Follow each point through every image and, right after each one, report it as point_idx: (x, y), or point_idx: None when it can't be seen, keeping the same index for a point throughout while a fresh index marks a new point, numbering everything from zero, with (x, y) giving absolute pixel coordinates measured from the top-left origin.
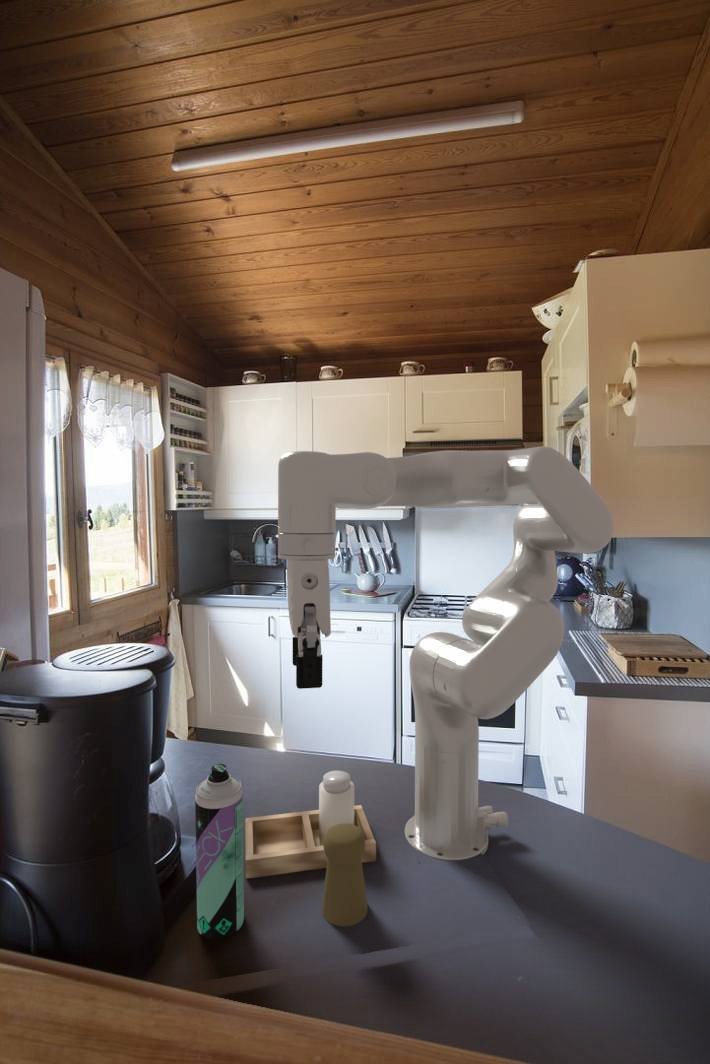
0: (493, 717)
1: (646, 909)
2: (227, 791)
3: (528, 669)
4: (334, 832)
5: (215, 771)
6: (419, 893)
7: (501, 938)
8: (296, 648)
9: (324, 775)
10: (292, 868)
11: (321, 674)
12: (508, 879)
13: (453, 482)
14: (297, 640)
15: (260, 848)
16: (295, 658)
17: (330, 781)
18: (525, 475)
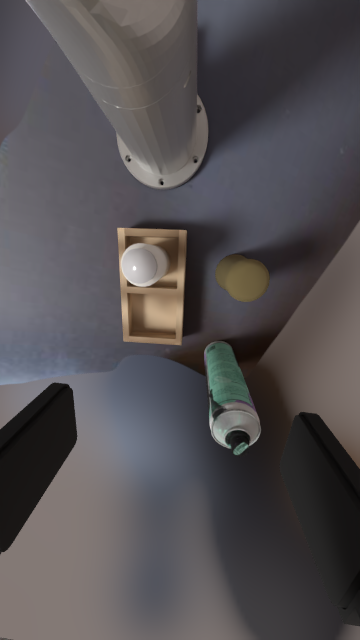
0: None
1: None
2: (254, 426)
3: None
4: (248, 293)
5: (247, 452)
6: (229, 202)
7: (302, 145)
8: (37, 493)
9: (131, 280)
10: (183, 306)
11: (341, 449)
12: (239, 92)
13: None
14: (6, 534)
15: (149, 326)
16: (64, 457)
17: (147, 276)
18: None
